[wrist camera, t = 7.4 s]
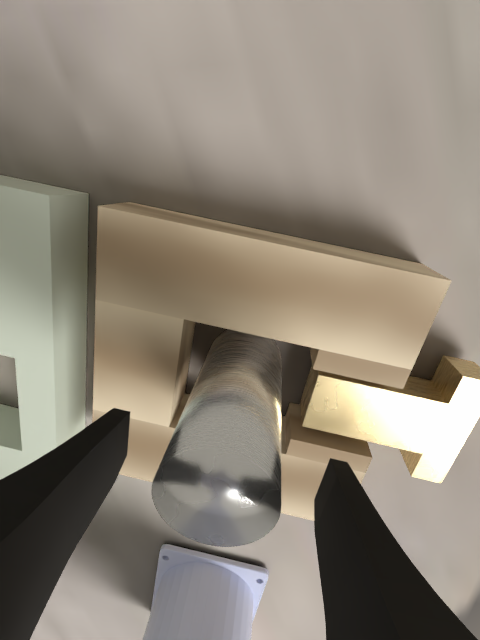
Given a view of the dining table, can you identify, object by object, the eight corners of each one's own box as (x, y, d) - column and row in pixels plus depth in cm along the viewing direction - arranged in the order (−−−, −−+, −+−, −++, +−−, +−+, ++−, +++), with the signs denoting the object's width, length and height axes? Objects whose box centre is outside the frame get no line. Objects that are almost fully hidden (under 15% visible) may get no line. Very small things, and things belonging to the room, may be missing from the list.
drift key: (425, 454, 19) (440, 483, 17) (293, 423, 19) (294, 449, 17) (474, 361, 17) (497, 384, 15) (323, 328, 17) (328, 346, 15)
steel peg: (272, 398, 19) (265, 558, 11) (203, 382, 20) (146, 529, 11) (289, 335, 18) (295, 467, 10) (215, 319, 18) (158, 435, 10)
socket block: (333, 482, 21) (341, 527, 18) (115, 431, 22) (91, 467, 19) (421, 263, 16) (451, 280, 13) (129, 201, 16) (97, 205, 13)
